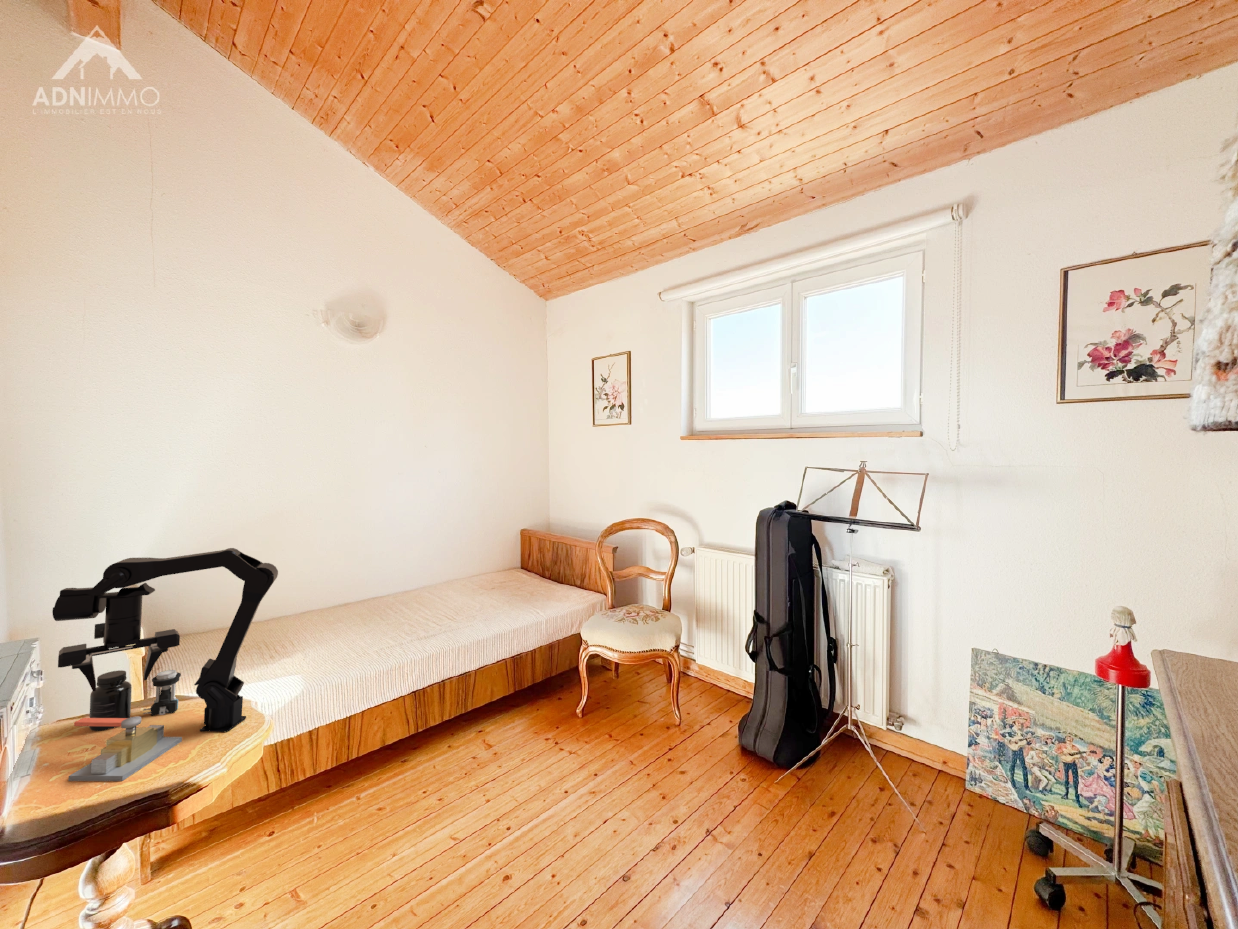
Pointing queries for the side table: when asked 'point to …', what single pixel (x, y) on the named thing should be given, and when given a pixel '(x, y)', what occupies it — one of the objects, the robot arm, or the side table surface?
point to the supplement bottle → (110, 698)
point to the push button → (165, 693)
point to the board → (129, 767)
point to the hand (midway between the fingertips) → (120, 685)
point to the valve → (126, 747)
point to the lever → (109, 722)
